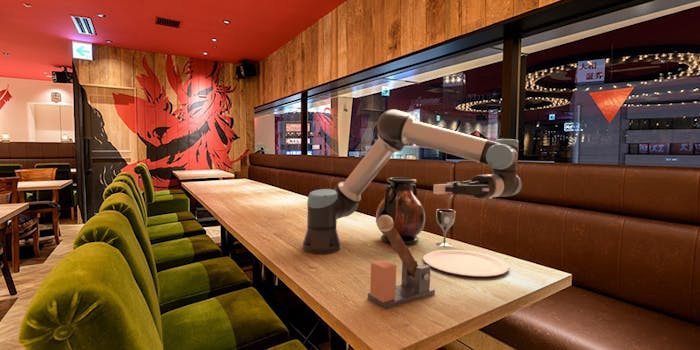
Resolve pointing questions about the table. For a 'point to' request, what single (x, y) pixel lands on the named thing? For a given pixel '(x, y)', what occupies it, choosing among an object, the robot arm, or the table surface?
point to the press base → (409, 288)
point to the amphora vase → (402, 209)
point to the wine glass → (445, 223)
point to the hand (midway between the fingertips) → (435, 189)
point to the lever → (397, 242)
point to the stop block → (383, 280)
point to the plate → (465, 263)
